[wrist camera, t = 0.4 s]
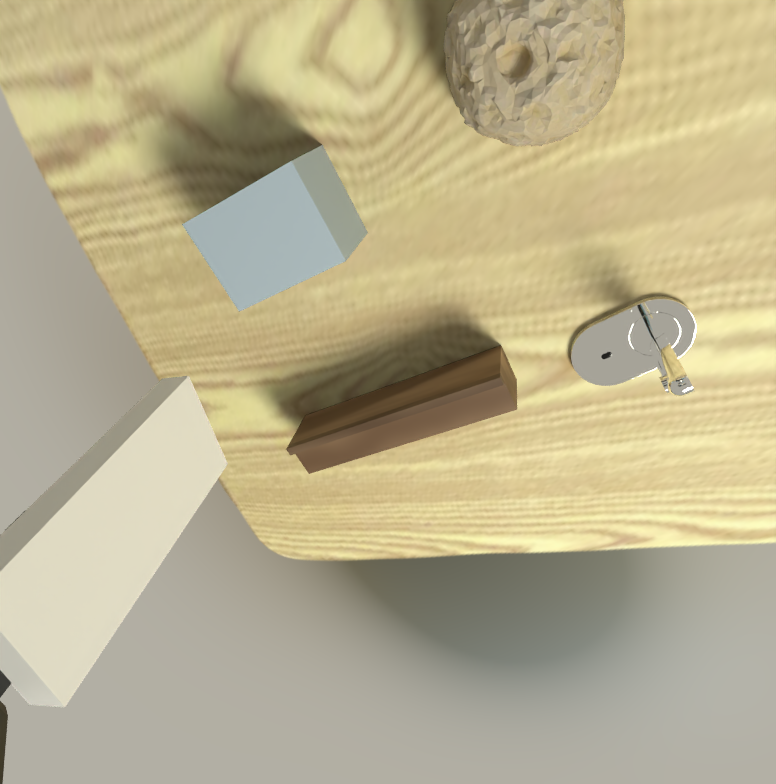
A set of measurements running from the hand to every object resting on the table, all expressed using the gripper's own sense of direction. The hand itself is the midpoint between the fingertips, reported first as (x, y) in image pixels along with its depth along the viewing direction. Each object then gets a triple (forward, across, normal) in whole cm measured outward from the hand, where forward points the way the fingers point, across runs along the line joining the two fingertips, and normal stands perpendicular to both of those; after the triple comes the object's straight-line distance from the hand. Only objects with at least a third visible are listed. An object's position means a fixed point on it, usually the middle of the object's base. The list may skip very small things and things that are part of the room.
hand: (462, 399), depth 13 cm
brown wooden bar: (+26, -8, -15) cm, 31 cm away
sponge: (+26, +3, +6) cm, 27 cm away
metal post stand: (+26, +8, -12) cm, 30 cm away
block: (+26, -13, 0) cm, 29 cm away
